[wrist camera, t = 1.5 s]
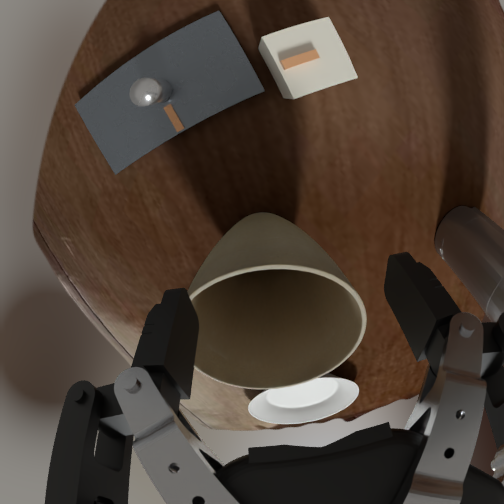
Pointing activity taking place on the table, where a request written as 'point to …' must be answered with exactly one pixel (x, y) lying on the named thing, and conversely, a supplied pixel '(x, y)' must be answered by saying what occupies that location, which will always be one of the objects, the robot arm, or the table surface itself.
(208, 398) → the table surface
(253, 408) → the bowl
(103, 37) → the table surface
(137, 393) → the robot arm
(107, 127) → the panel
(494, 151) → the table surface
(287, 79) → the white and orange block
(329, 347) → the plant pot
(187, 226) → the table surface
